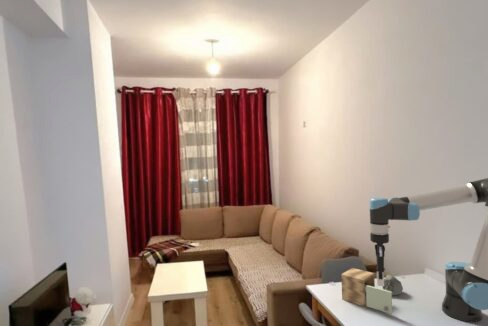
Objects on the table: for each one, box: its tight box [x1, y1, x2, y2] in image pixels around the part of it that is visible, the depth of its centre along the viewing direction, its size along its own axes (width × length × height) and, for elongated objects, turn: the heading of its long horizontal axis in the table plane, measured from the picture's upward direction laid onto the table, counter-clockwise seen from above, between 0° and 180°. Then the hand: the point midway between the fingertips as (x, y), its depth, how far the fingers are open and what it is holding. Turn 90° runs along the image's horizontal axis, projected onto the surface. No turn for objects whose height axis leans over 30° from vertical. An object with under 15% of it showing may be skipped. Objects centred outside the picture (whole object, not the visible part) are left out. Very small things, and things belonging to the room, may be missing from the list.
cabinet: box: [340, 267, 376, 307], centre depth 158 cm, size 12×12×13 cm
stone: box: [382, 274, 404, 296], centre depth 163 cm, size 10×10×10 cm
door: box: [365, 285, 393, 315], centre depth 144 cm, size 2×12×10 cm, turn 46°
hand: (380, 285), depth 136 cm, fingers closed
